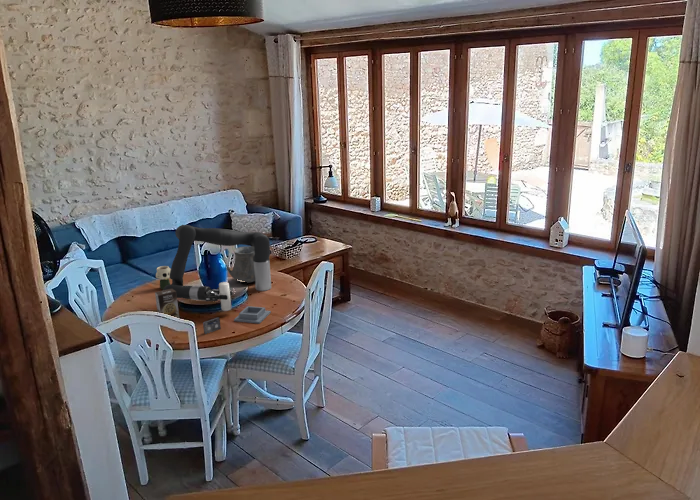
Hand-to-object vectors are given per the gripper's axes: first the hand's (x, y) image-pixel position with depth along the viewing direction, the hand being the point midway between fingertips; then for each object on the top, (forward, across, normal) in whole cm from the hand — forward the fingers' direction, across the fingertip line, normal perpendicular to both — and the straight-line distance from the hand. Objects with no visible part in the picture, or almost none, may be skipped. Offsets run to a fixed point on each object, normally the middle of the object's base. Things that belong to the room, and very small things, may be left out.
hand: (229, 295), depth 281 cm
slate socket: (+12, 0, +11) cm, 16 cm away
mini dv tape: (0, -20, +11) cm, 23 cm away
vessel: (-15, +52, +12) cm, 55 cm away
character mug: (-58, +28, +11) cm, 65 cm away
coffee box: (-28, -14, +11) cm, 33 cm away
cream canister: (-3, 0, +8) cm, 8 cm away
